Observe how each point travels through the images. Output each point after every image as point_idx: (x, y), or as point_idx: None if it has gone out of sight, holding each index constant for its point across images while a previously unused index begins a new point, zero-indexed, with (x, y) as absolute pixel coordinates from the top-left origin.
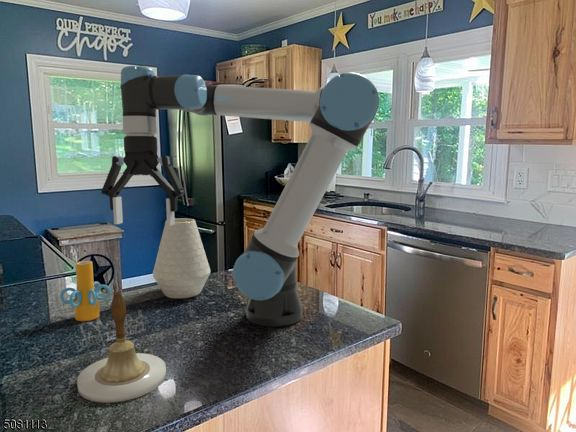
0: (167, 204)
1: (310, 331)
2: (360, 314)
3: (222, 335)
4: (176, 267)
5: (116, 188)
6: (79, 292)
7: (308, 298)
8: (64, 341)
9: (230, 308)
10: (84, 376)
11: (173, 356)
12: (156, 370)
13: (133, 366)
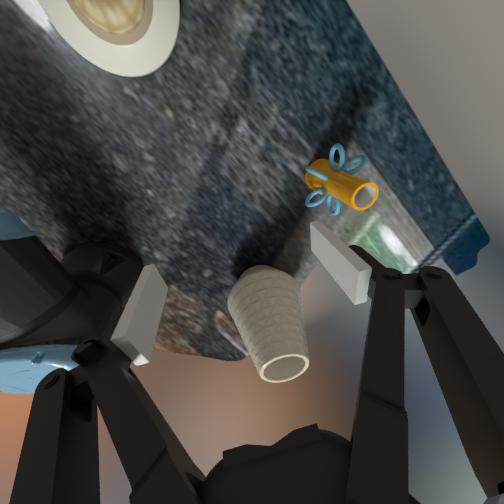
0: (128, 316)
1: None
2: None
3: (116, 198)
4: (254, 289)
5: (382, 305)
6: (338, 166)
7: None
8: (295, 89)
9: (173, 268)
10: None
11: (116, 108)
12: (64, 17)
13: None
